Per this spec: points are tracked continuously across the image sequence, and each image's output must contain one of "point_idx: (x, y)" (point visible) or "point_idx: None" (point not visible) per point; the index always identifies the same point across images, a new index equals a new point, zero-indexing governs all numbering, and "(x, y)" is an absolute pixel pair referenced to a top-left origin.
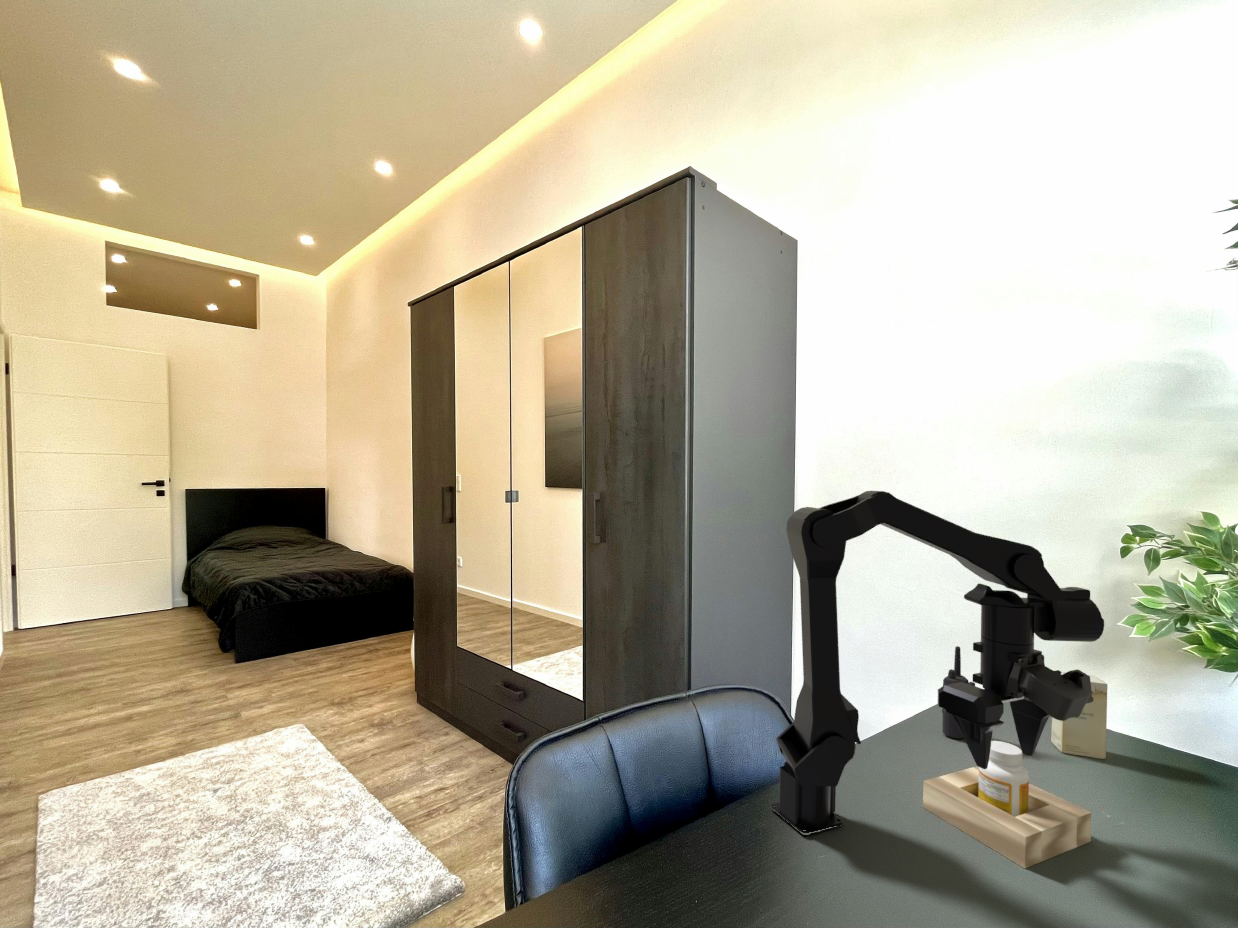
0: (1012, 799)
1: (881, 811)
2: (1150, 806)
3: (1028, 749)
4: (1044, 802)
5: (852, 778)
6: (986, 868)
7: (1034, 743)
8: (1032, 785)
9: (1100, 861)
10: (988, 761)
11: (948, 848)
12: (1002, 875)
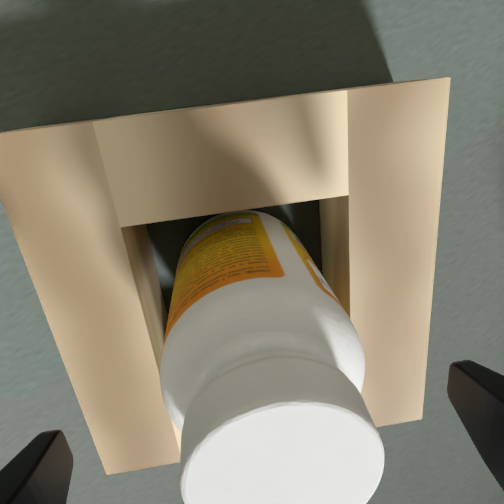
0: (299, 257)
1: (495, 366)
2: None
3: (50, 468)
4: (125, 245)
5: (430, 477)
6: (494, 116)
7: (6, 499)
8: (61, 344)
9: (109, 31)
10: (482, 384)
11: (497, 213)
12: (485, 77)
